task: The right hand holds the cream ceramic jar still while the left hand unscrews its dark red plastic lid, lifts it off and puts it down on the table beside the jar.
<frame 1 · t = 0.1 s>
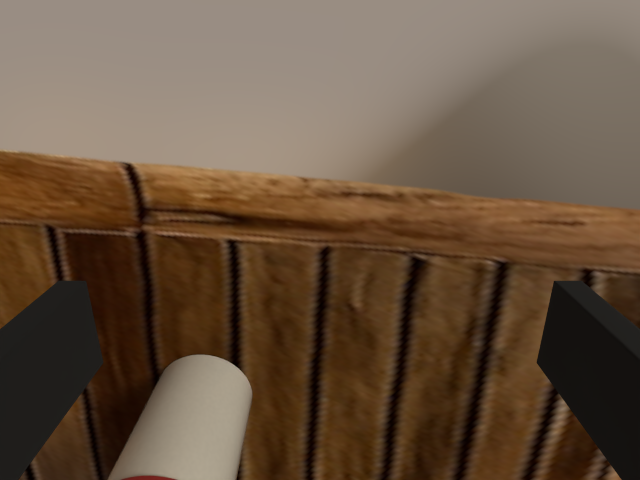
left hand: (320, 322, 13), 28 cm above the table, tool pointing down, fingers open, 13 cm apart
jar: (205, 393, 49), on the table
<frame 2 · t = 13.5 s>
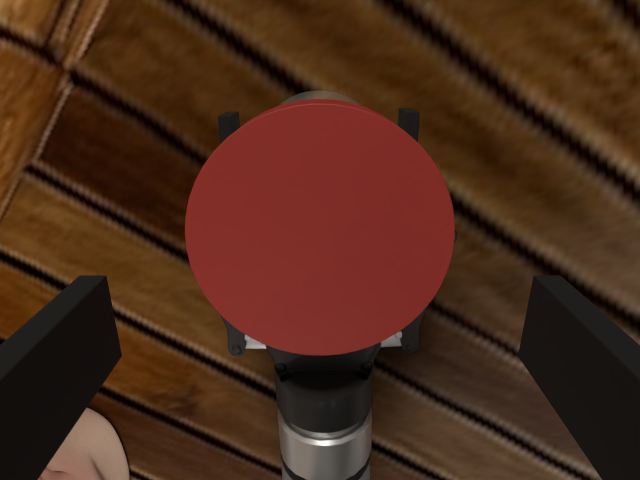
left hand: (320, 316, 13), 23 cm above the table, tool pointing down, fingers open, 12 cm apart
anatomical model: (71, 446, 45), on the table
jar: (320, 159, 35), on the table, touching right hand
lid: (319, 240, 19), point 17 cm above the table, screwed on, not yet turned
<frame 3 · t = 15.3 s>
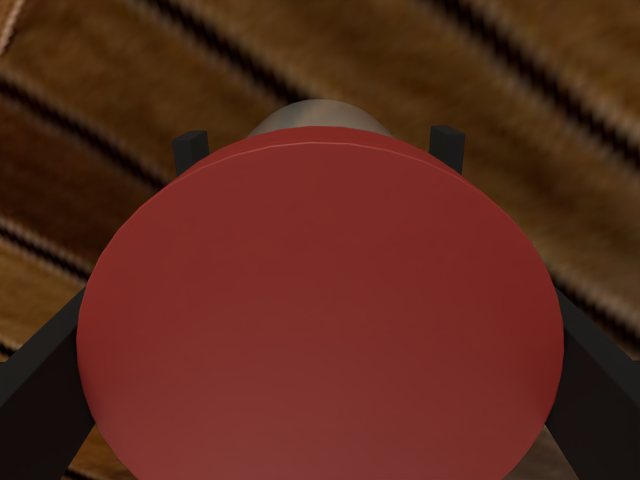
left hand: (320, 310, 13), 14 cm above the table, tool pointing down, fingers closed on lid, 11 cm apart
jar: (320, 189, 27), on the table, touching right hand
lid: (320, 374, 11), point 17 cm above the table, screwed on, not yet turned, touching left hand
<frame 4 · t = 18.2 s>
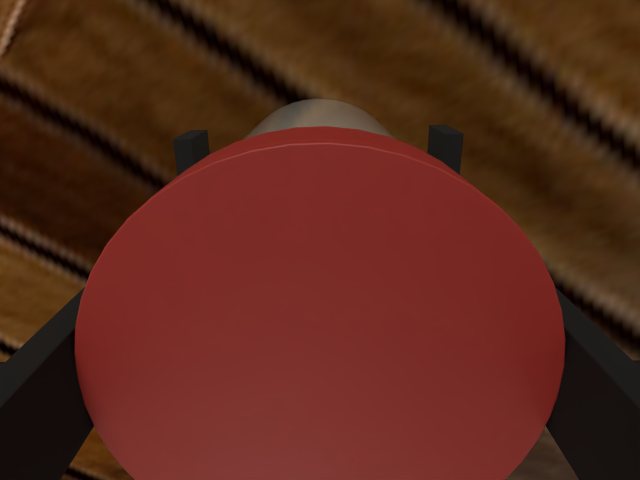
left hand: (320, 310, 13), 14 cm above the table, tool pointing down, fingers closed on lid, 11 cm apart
jar: (319, 188, 27), on the table, touching right hand
lid: (319, 376, 11), point 17 cm above the table, turned 79° so far, risen 0.3 cm, still on its thread, touching left hand
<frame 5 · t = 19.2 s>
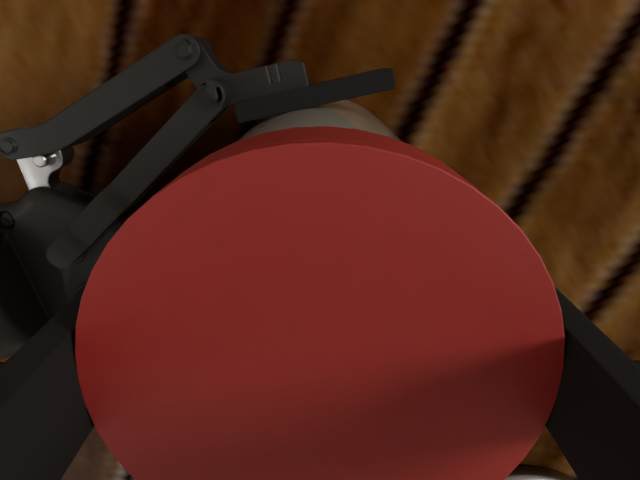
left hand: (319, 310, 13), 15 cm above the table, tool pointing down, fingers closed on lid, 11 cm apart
right hand: (407, 199, 21), fingers closed on jar, 10 cm apart
jar: (319, 183, 27), on the table, touching right hand
lid: (319, 376, 11), point 18 cm above the table, off its thread, touching left hand
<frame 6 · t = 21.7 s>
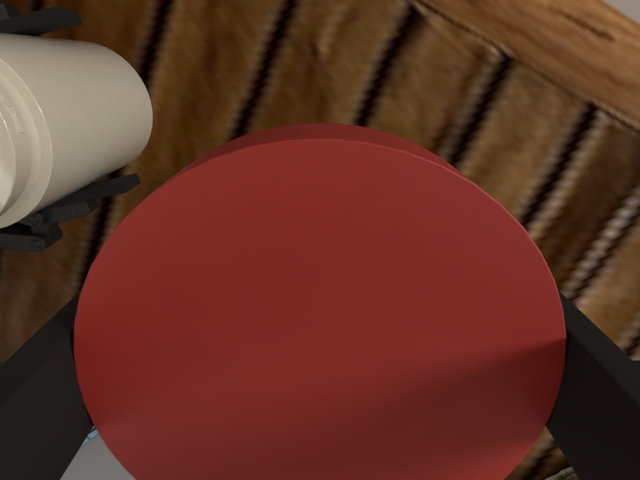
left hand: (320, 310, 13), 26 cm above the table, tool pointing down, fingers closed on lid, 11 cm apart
jar: (89, 109, 36), on the table, touching right hand
lid: (319, 374, 11), point 29 cm above the table, off its thread, touching left hand
when the left hand's fingers open (0 cm above the table, at t = 25.6 s): lid drops 1 cm, point 2 cm above the table.
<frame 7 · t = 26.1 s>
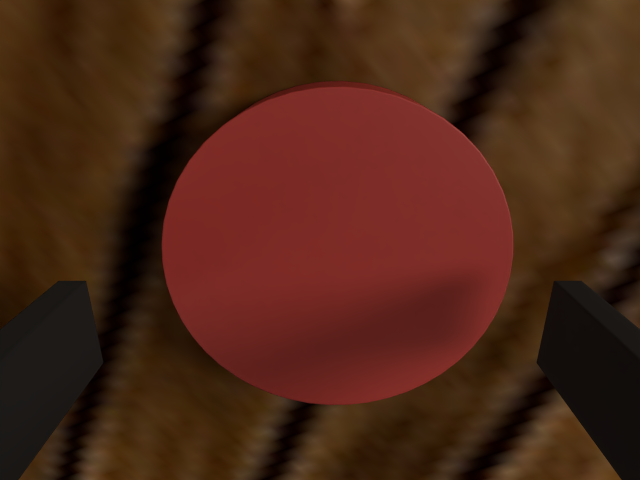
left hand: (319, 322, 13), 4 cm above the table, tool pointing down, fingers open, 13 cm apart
lid: (335, 265, 15), point 2 cm above the table, off its thread
when the right hand's fingers open (6 cm above the table, at t = 26.6 s): jar stays where it is, on the table.
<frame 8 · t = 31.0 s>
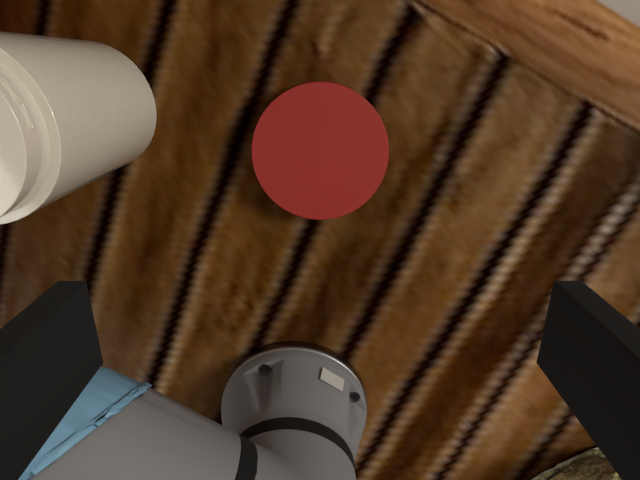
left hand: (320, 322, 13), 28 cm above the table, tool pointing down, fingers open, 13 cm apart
jar: (94, 107, 37), on the table
lid: (320, 153, 37), point 2 cm above the table, off its thread
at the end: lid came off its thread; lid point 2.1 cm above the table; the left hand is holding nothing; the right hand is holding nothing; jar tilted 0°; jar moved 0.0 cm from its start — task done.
